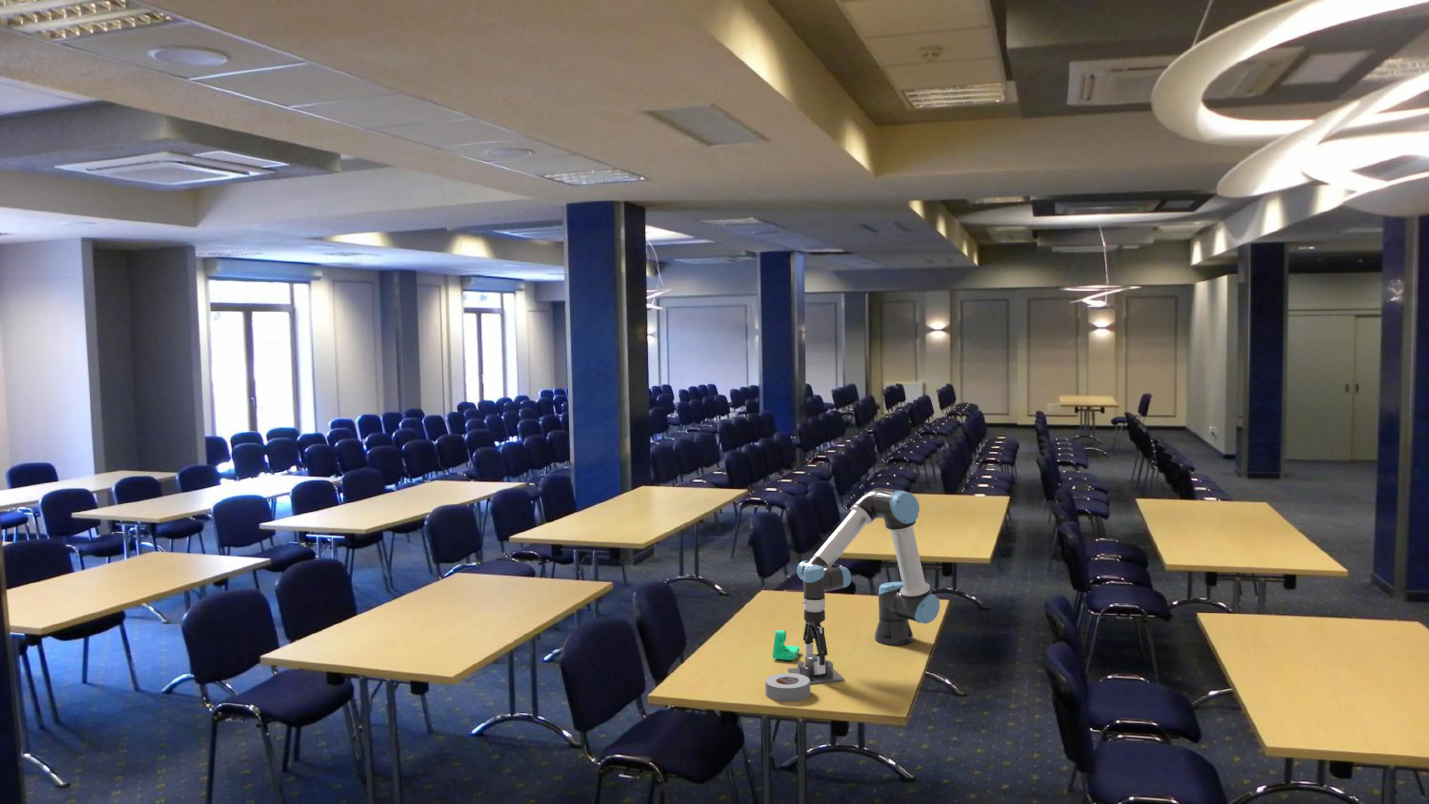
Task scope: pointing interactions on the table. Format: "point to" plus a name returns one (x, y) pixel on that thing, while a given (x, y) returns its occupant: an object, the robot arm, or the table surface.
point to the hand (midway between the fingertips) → (815, 667)
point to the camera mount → (783, 647)
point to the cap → (812, 665)
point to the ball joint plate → (827, 677)
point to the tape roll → (787, 687)
